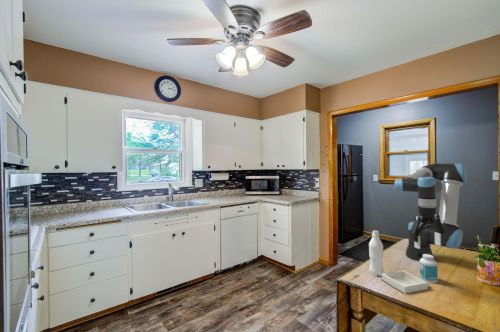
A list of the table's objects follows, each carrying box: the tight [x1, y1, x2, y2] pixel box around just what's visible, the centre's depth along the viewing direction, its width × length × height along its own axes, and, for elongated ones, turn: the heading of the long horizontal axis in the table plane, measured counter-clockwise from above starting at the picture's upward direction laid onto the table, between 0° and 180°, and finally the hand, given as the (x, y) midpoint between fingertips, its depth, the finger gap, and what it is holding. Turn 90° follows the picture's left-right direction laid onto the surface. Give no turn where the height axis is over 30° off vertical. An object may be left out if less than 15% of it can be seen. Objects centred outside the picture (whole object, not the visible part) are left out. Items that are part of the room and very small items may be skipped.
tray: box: [381, 269, 429, 294], centre depth 120 cm, size 14×14×3 cm
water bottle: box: [368, 229, 385, 278], centre depth 131 cm, size 7×7×25 cm
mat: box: [380, 279, 433, 295], centre depth 120 cm, size 18×14×1 cm
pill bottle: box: [419, 254, 439, 284], centre depth 124 cm, size 8×7×14 cm
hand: (427, 246), depth 123 cm, fingers open, 13 cm apart
